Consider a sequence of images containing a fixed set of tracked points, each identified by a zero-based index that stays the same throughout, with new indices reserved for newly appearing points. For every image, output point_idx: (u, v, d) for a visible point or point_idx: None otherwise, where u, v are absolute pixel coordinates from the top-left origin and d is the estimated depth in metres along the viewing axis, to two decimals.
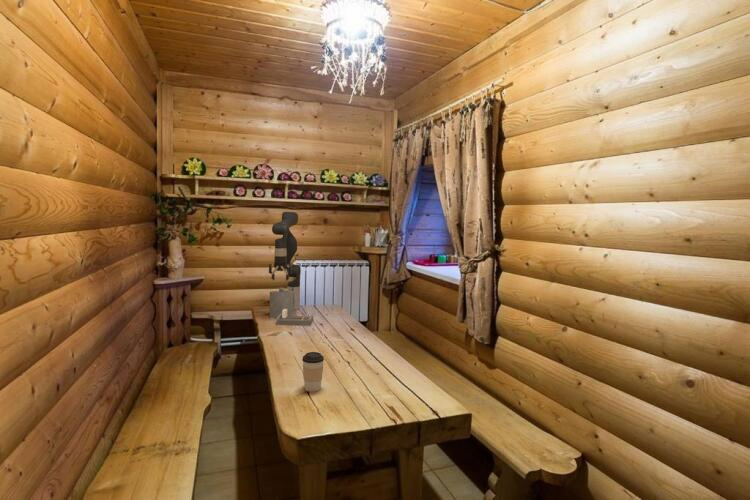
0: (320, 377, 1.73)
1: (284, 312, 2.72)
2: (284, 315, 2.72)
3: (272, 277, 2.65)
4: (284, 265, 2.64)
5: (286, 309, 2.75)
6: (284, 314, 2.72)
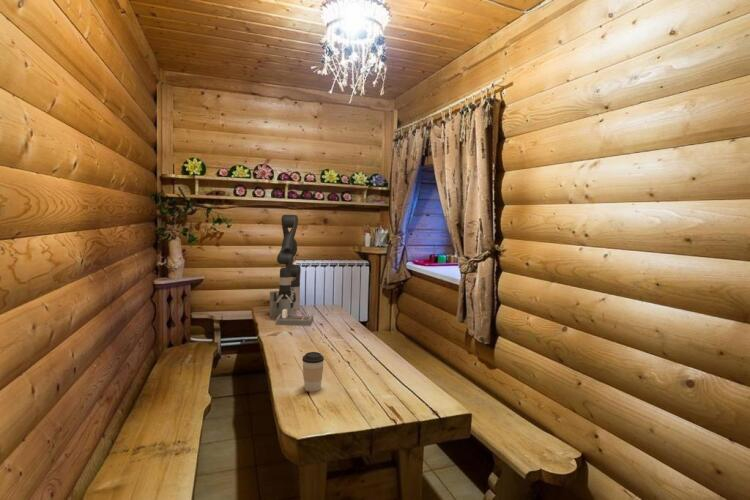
0: (320, 377, 1.73)
1: (284, 312, 2.72)
2: (284, 315, 2.72)
3: (277, 305, 2.73)
4: (289, 293, 2.72)
5: (286, 309, 2.75)
6: (284, 314, 2.72)
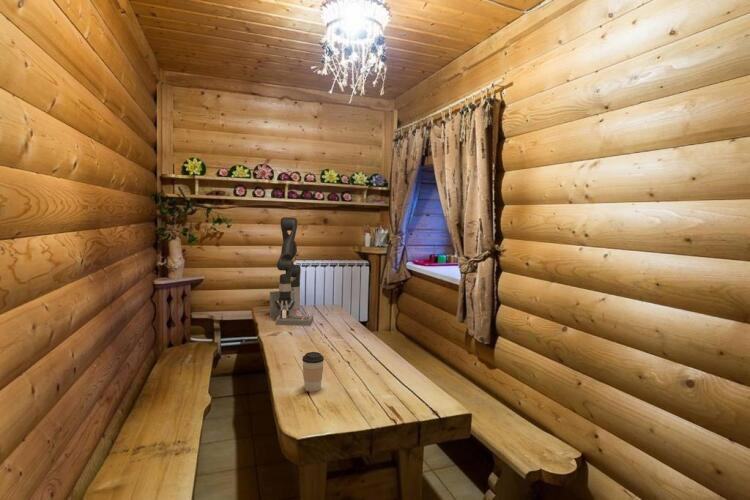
0: (320, 377, 1.73)
1: (284, 312, 2.72)
2: (284, 315, 2.72)
3: (281, 313, 2.73)
4: (289, 300, 2.72)
5: (286, 309, 2.75)
6: (284, 314, 2.72)
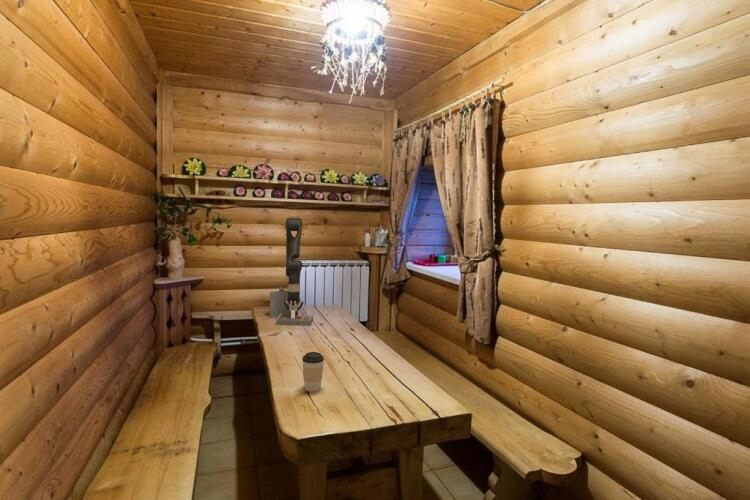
0: (320, 377, 1.73)
1: (293, 312, 2.72)
2: (293, 315, 2.72)
3: (290, 313, 2.73)
4: (297, 300, 2.72)
5: None
6: (293, 314, 2.72)
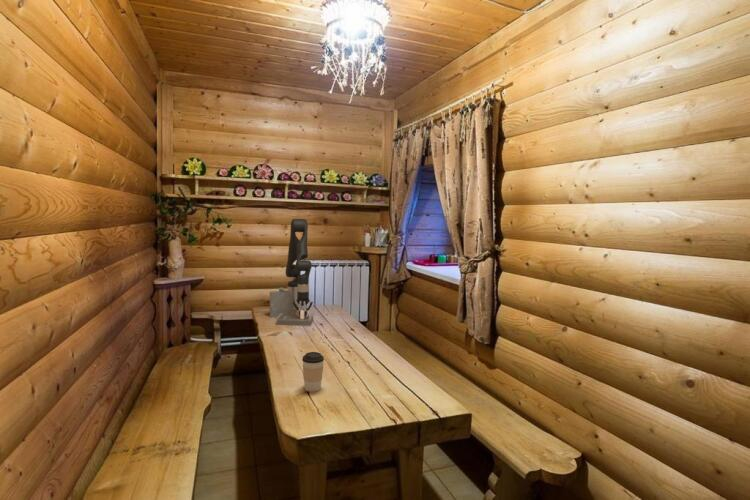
0: (320, 377, 1.73)
1: (302, 313, 2.72)
2: (302, 316, 2.72)
3: (299, 313, 2.73)
4: (307, 300, 2.72)
5: (304, 310, 2.75)
6: (302, 315, 2.72)
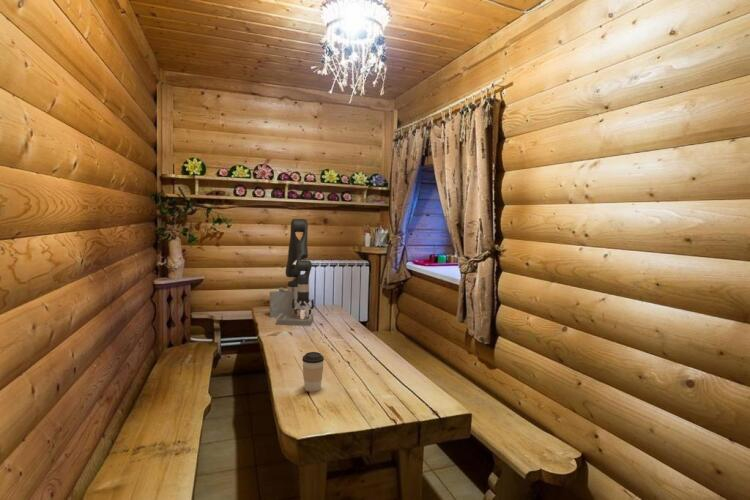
0: (320, 377, 1.73)
1: (302, 313, 2.72)
2: (302, 316, 2.72)
3: (295, 312, 2.73)
4: (307, 300, 2.72)
5: (304, 310, 2.75)
6: (302, 315, 2.72)
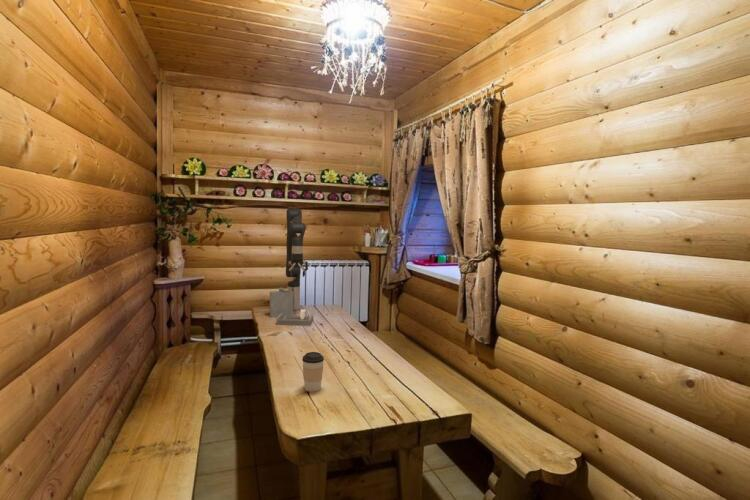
0: (320, 377, 1.73)
1: (302, 313, 2.72)
2: (302, 316, 2.72)
3: (289, 273, 2.80)
4: (301, 262, 2.79)
5: (304, 310, 2.75)
6: (302, 315, 2.72)
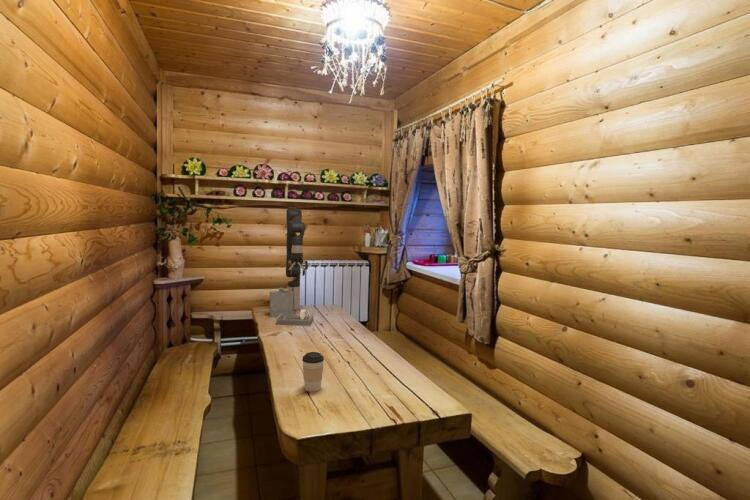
0: (320, 377, 1.73)
1: (302, 313, 2.72)
2: (302, 316, 2.72)
3: (289, 273, 2.80)
4: (301, 261, 2.79)
5: (304, 310, 2.75)
6: (302, 315, 2.72)
